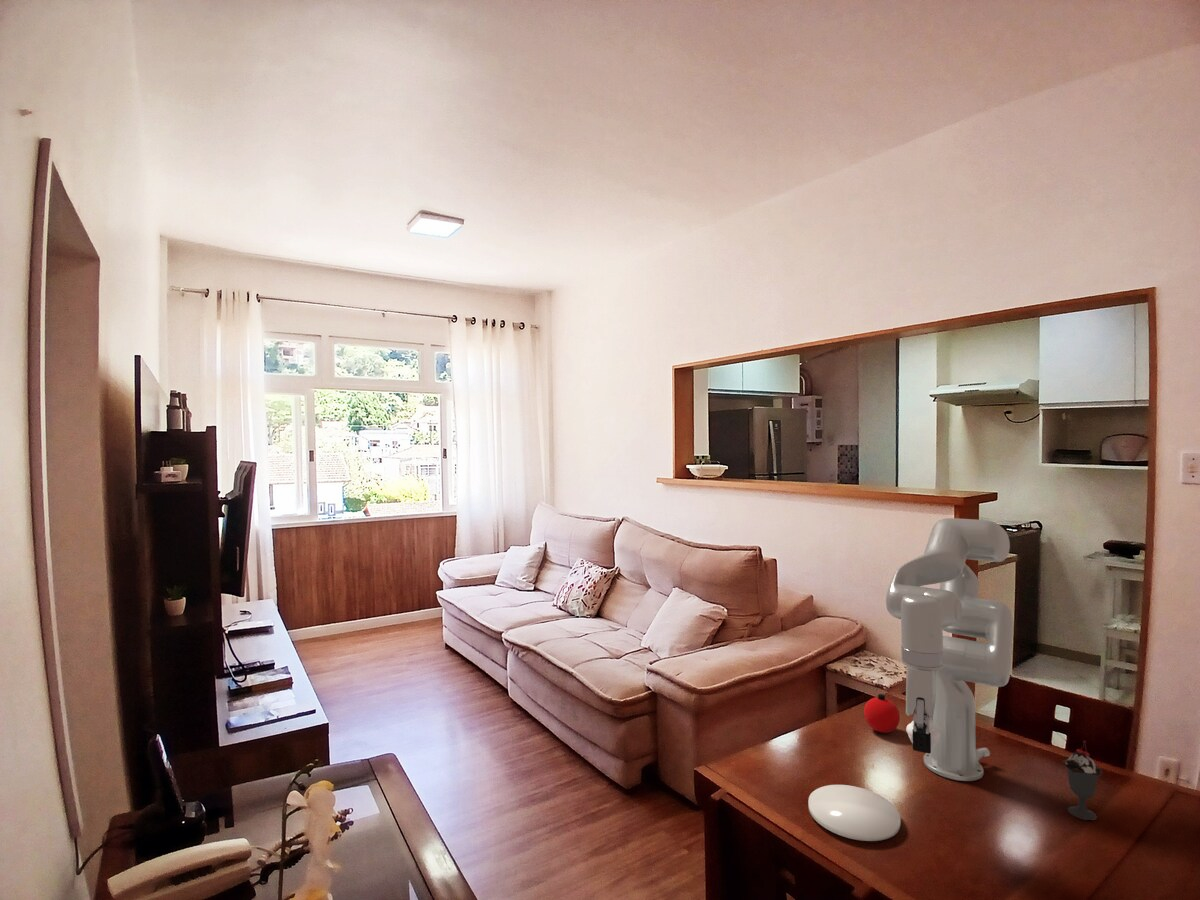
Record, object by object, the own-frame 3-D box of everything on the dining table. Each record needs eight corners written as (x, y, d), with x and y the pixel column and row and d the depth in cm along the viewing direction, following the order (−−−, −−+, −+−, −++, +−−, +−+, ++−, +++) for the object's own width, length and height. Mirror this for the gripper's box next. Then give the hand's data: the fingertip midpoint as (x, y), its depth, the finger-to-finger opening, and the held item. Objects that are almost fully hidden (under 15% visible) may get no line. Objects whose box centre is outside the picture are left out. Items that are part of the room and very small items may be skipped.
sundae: (1094, 807, 132) (1093, 738, 132) (1108, 826, 125) (1107, 753, 125) (1057, 802, 134) (1057, 733, 134) (1069, 820, 128) (1069, 748, 127)
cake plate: (858, 786, 141) (858, 778, 141) (921, 833, 124) (920, 824, 124) (791, 802, 136) (791, 793, 136) (847, 853, 119) (847, 843, 119)
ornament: (883, 741, 162) (883, 704, 162) (856, 727, 170) (856, 691, 170) (907, 734, 166) (907, 697, 166) (879, 721, 174) (879, 685, 174)
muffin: (938, 744, 127) (938, 711, 127) (942, 759, 121) (941, 723, 121) (905, 739, 130) (905, 706, 129) (907, 753, 124) (907, 718, 124)
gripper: (905, 641, 135) (906, 723, 135) (897, 666, 120) (898, 758, 120) (944, 647, 131) (945, 731, 131) (940, 673, 116) (942, 768, 116)
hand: (923, 743), depth 126 cm, fingers closed on muffin, 6 cm apart
